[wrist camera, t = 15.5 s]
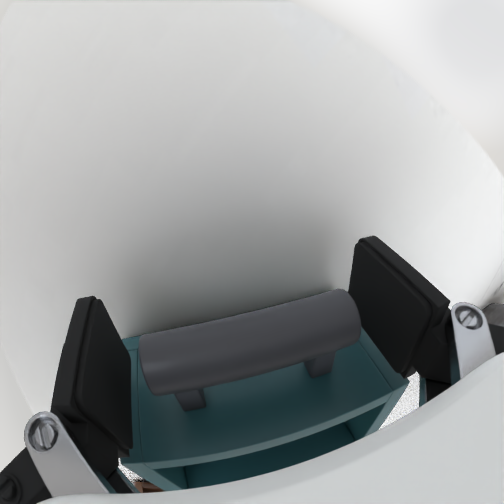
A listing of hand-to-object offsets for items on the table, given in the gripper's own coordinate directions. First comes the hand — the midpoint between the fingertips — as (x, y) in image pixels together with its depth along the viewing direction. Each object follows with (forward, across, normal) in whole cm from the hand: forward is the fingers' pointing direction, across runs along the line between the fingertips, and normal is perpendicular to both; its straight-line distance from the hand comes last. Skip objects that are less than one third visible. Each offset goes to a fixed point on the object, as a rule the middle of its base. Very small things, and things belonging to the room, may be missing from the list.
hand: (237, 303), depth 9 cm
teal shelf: (+2, 0, +7) cm, 7 cm away
